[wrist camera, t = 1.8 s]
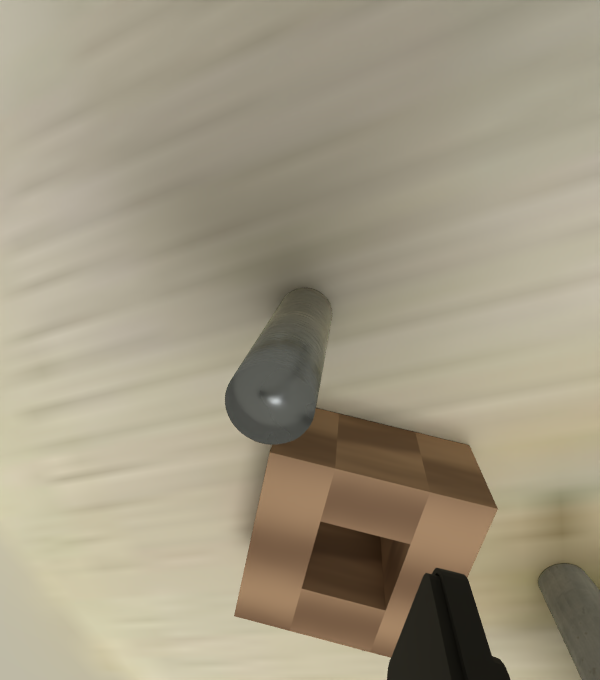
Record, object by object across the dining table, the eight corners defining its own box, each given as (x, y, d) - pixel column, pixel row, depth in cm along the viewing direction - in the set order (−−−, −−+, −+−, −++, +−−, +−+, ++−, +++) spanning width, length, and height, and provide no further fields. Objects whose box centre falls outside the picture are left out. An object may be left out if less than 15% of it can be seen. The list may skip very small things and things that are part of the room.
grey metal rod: (284, 282, 26) (232, 352, 15) (337, 294, 26) (324, 374, 15) (275, 332, 27) (219, 432, 16) (325, 344, 27) (304, 453, 16)
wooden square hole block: (286, 400, 29) (269, 452, 23) (469, 445, 28) (497, 509, 23) (254, 542, 33) (234, 616, 27) (414, 583, 32) (427, 667, 27)
